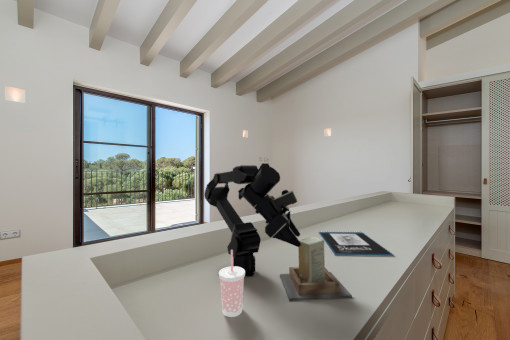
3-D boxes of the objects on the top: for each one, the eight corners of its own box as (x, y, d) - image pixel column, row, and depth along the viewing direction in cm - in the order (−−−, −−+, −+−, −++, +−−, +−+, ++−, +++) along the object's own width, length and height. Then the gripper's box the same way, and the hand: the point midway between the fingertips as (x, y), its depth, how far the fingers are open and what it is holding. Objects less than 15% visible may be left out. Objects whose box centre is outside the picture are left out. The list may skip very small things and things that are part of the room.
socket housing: (289, 300, 55) (289, 288, 55) (279, 276, 68) (279, 265, 68) (351, 297, 56) (351, 285, 56) (330, 273, 69) (330, 263, 69)
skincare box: (313, 277, 66) (313, 236, 66) (325, 283, 62) (325, 239, 62) (297, 283, 62) (297, 239, 62) (309, 290, 59) (309, 244, 59)
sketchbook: (334, 257, 84) (334, 252, 84) (317, 234, 114) (317, 230, 114) (394, 258, 83) (394, 252, 83) (361, 234, 113) (361, 230, 113)
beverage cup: (220, 303, 55) (219, 245, 55) (245, 302, 55) (244, 245, 55) (217, 319, 48) (216, 255, 49) (245, 318, 49) (245, 254, 49)
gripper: (277, 183, 55) (324, 229, 53) (282, 179, 73) (317, 214, 71) (246, 214, 56) (291, 260, 54) (258, 203, 75) (292, 237, 73)
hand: (299, 240), depth 63 cm, fingers open, 9 cm apart
